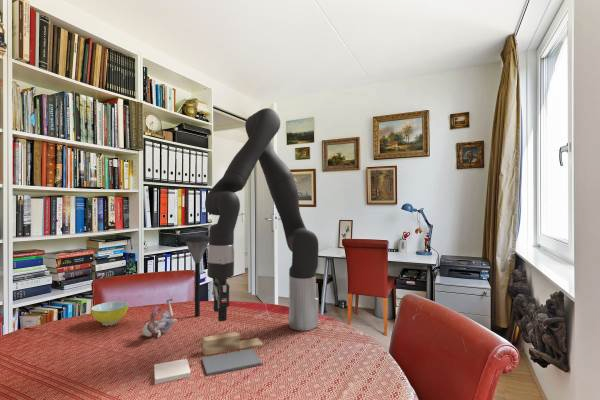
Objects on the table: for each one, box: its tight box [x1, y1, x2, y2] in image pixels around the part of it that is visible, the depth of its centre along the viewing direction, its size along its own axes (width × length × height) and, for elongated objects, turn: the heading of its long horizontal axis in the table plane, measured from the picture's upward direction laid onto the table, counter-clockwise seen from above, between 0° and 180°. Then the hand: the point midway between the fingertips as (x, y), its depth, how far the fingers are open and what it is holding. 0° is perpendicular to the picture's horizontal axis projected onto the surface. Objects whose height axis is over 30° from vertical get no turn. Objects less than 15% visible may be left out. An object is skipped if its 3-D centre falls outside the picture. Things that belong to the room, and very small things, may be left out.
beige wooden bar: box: [202, 331, 264, 356], centre depth 98 cm, size 17×5×4 cm, turn 116°
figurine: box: [141, 298, 178, 339], centre depth 108 cm, size 12×9×15 cm
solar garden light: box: [180, 234, 209, 318], centre depth 125 cm, size 12×12×30 cm
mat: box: [201, 348, 263, 377], centre depth 89 cm, size 14×9×1 cm, turn 114°
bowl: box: [90, 301, 129, 327], centre depth 117 cm, size 11×12×6 cm
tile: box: [153, 358, 192, 385], centre depth 83 cm, size 2×8×8 cm
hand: (219, 316), depth 97 cm, fingers open, 8 cm apart
